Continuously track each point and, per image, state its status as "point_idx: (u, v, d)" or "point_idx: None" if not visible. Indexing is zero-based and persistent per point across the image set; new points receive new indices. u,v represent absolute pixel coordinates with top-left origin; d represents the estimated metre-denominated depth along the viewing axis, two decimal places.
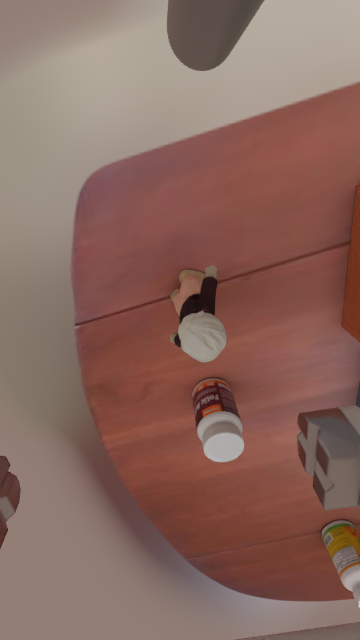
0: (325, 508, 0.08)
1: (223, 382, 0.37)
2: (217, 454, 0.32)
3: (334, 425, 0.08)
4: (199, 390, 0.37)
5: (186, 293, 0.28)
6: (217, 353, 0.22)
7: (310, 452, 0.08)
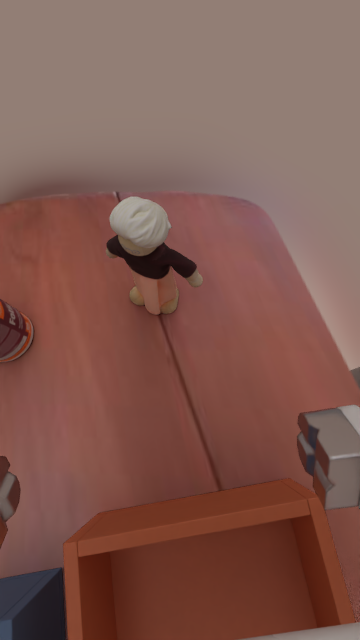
0: (325, 508, 0.08)
1: (25, 347, 0.28)
2: None
3: (334, 425, 0.08)
4: (20, 312, 0.28)
5: None
6: (124, 224, 0.17)
7: (310, 451, 0.08)
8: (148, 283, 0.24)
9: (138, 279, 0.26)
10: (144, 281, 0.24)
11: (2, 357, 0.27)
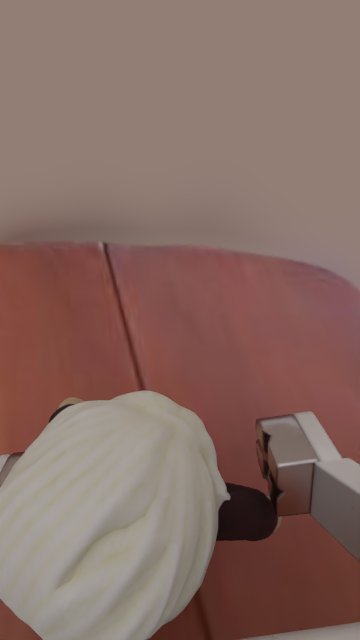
0: (277, 514, 0.08)
1: None
2: None
3: (286, 432, 0.08)
4: None
5: None
6: (29, 614, 0.04)
7: (266, 458, 0.08)
8: None
9: None
10: None
11: None
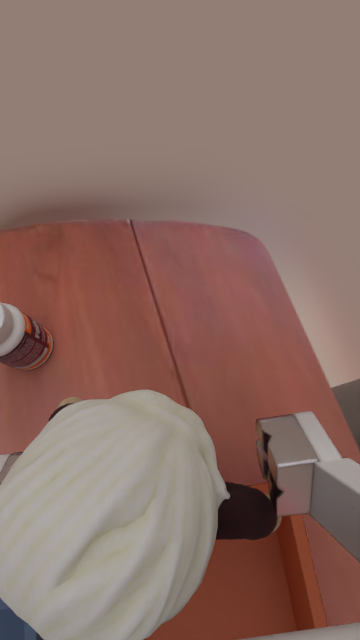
0: (278, 514, 0.08)
1: (45, 357, 0.32)
2: None
3: (286, 432, 0.08)
4: (42, 326, 0.32)
5: None
6: (28, 612, 0.04)
7: (266, 458, 0.08)
8: None
9: None
10: None
11: (26, 366, 0.30)
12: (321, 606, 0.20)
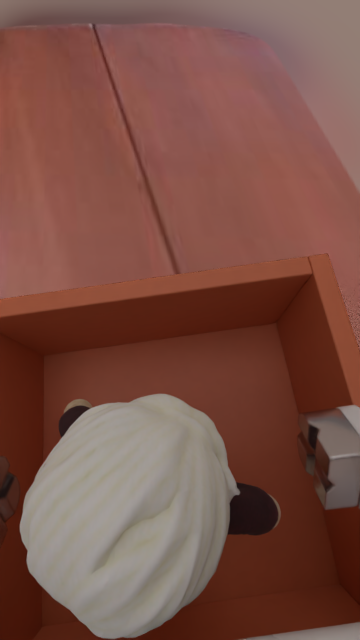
0: (325, 508, 0.08)
1: None
2: None
3: (334, 425, 0.08)
4: None
5: None
6: (67, 595, 0.04)
7: (310, 452, 0.08)
8: None
9: None
10: None
11: None
12: None
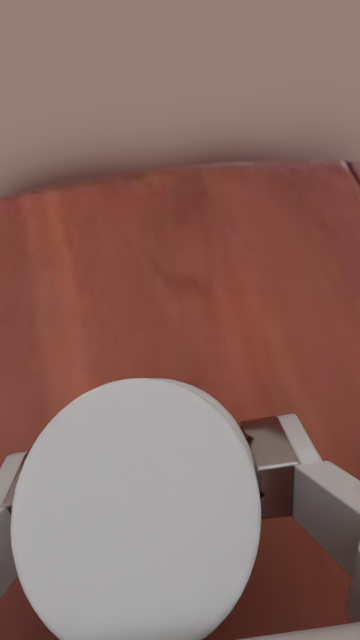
0: None
1: None
2: (87, 462, 0.05)
3: (268, 434, 0.08)
4: None
5: None
6: None
7: None
8: None
9: None
10: None
11: None
12: None
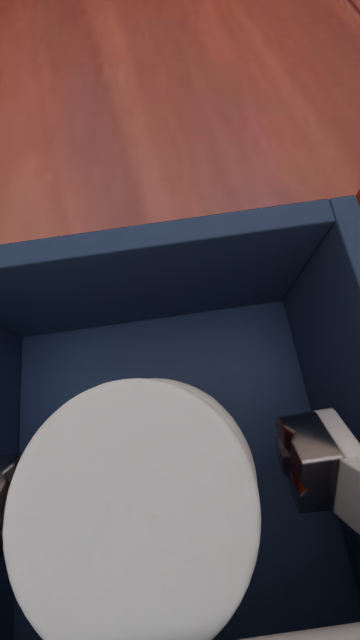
0: (300, 511, 0.08)
1: None
2: (82, 464, 0.05)
3: (309, 428, 0.08)
4: None
5: None
6: None
7: (287, 455, 0.08)
8: None
9: None
10: None
11: None
12: None
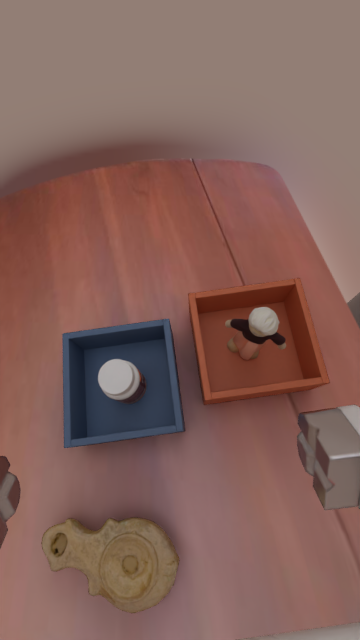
0: (325, 508, 0.08)
1: (143, 395, 0.43)
2: (108, 370, 0.37)
3: (334, 425, 0.08)
4: None
5: None
6: (261, 325, 0.33)
7: (310, 452, 0.08)
8: (252, 345, 0.40)
9: (240, 339, 0.42)
10: (250, 344, 0.40)
11: (131, 402, 0.42)
12: (311, 321, 0.40)
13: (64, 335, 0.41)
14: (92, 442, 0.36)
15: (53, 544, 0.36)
